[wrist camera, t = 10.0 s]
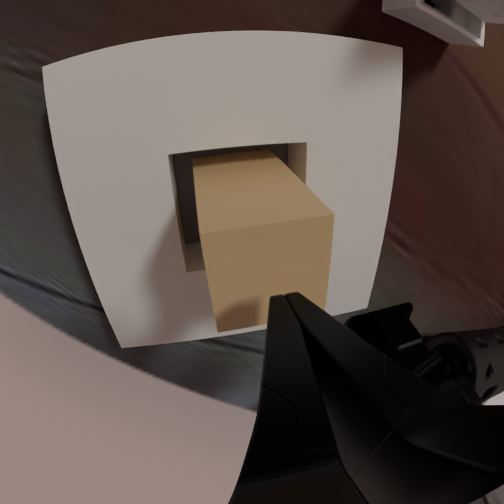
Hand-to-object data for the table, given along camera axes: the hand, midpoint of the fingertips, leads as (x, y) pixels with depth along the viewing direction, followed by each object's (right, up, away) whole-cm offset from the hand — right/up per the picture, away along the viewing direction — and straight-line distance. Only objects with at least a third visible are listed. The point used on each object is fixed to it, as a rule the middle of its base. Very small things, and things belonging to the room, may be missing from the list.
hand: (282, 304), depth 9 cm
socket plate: (-2, +5, +8) cm, 9 cm away
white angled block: (+9, +17, +3) cm, 19 cm away
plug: (-2, +5, +8) cm, 9 cm away
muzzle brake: (+30, -10, +25) cm, 41 cm away
